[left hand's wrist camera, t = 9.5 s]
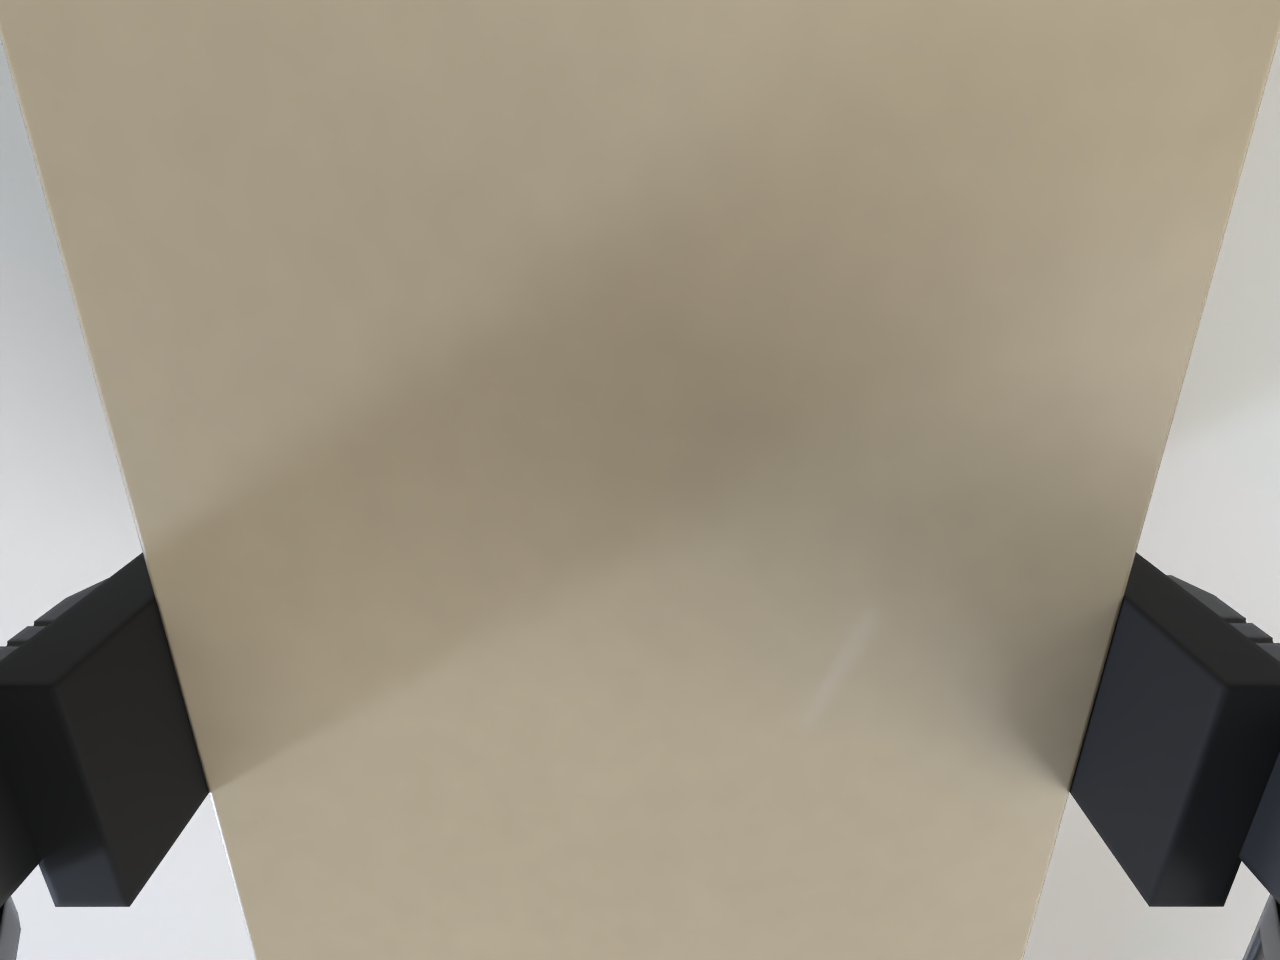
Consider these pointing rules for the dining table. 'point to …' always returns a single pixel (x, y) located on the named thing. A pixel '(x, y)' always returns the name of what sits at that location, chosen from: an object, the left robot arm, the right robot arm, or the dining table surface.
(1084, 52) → the cabinet
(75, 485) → the dining table surface
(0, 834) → the left robot arm
